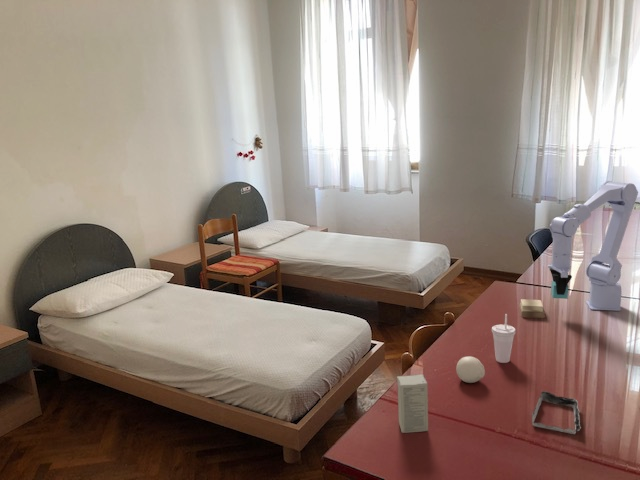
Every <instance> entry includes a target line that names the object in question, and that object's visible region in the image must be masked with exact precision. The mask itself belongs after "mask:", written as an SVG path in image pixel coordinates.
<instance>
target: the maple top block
mask: <svg viewBox="0 0 640 480" xmlns="http://www.w3.org/2000/svg"><path fill="white" fill-rule="evenodd" d="M520 304H521V308H522V311H531V312H543V309H544V306H543V302H542V300H541V299H527V298H526V299H524V298H522V299H521V298H520Z"/></svg>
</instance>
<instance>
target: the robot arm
mask: <svg viewBox="0 0 640 480" xmlns="http://www.w3.org/2000/svg"><path fill="white" fill-rule="evenodd" d="M638 195H639V191H638V189H637V187H636V185H635V184H634V183H626V182H618V181H617V182H616V181H611V180H607V181H605V182H603V183H602V184H601V185H599V188H598V190H597V192H596V193H594V194H593V195H592V196H591V197H589V198H588V200H586V202H585V203H583V204H582V203H577V204H574V205H573V207H572V208H571V209H569V210H568V211H566V212H565V213H564V214H563V215H561V216H557V217H556V216H555V218H553V219H552V220H551V222H550V224H549V225H548V226H549V230H550V231H549V232H550V233H551V238H552V248H551V249H552V251H551V264H547V268H548V269H549V271H550V274H551V277H552V281H555V283H556V291H557V294H558V295H564V294H565V291H566V287H567V285H568V286H569V282H570V281H571V280H572V277H573V276H572V275H571V274H569V272H570V270H571V269H572V266H571V260H572V244H573V235H575V234H576V233H577V231H578V228H579V227H580V226H581V224H584V222H586V221H587V220H588V219H589V218H591V216H592V212H594V211H596V209H598V208H600V207H601V206H602V205H604V204H608V205H609V206H611V208H612V214H611V217H610V221H609V223H608V227H607V230H606V233H605V236H604V239H603V242H602V246H601V248H600V252H599V253H598V254H596V255H594V256H592V257H591V260H590V262H589V263H588V265H587V266H586V269H585V274H586V276H587V277H588V281H589V282H590V287H589V299H588V300H586V301H585V303H586V304H587V306H588V307H589V309H590V310H593V311H594V310H597V311H617V312H618V311H619V312H620V311H621V310H622V309H621V302H622V285H621V284H620V283H619V281H620V279H621V274H622V273H621V272H622V268H623V265H622V263H621V262H620V260H618V254H619V251H620V249H621V245H622V242H623V240H624V236H625V232H626V230H627V228H628V225H629V221H630V219H631V218H630V217H631V215H632V212H633V209H634V208H635V204H636V201H637V197H638Z"/></svg>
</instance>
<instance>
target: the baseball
mask: <svg viewBox="0 0 640 480" xmlns="http://www.w3.org/2000/svg"><path fill="white" fill-rule="evenodd" d="M455 368H456V369H455V370H456V375H457V376H458V378H459V379H460V380H461V381H463V383H464V382H465V383H467V384H472V383H476V382H478V381H480V380H482V379H483V378H484V377H485V375H486V374H485V373H486V370H485V366H484V364H483V363H482V362H481V361H480V360H479V359H478V358H477V357H474V356H470V355H469V356H463V357H461V358H460V359H459V360H458V361H457V364H456V367H455Z"/></svg>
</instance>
